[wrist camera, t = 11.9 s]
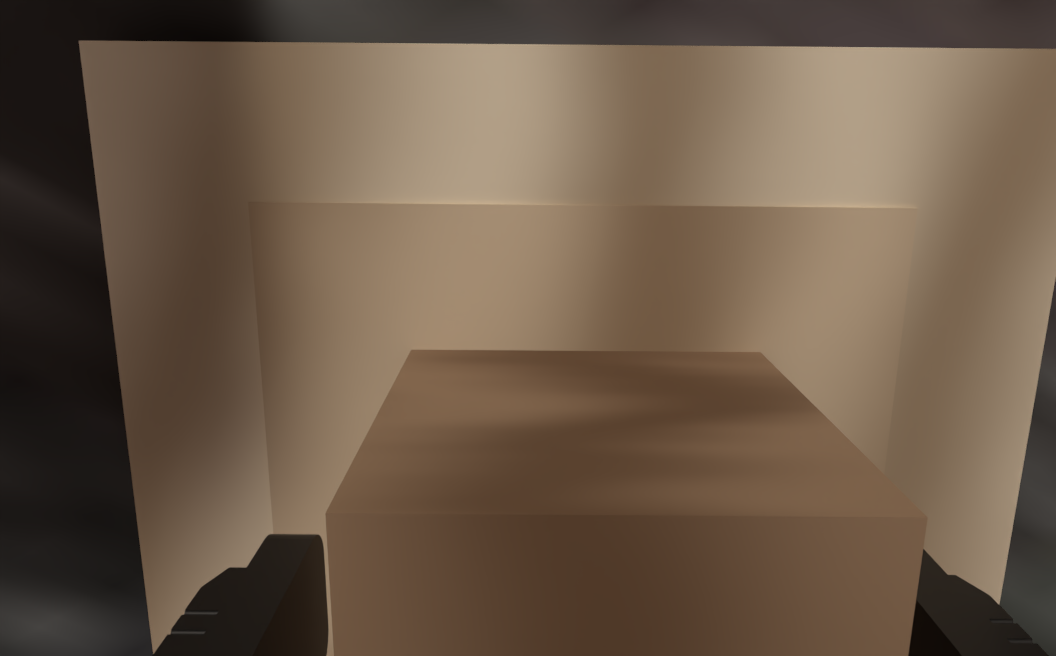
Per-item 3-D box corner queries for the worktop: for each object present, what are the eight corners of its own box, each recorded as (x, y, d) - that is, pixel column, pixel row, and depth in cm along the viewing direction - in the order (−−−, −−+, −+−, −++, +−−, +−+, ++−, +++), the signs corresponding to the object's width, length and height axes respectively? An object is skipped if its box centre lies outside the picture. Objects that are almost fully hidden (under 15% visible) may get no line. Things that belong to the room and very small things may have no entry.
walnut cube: (760, 352, 14) (927, 516, 8) (735, 655, 15) (862, 980, 10) (410, 349, 14) (325, 512, 8) (420, 653, 15) (353, 977, 10)
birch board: (1054, 54, 14) (1097, 49, 13) (930, 826, 18) (955, 870, 17) (110, 46, 14) (76, 40, 13) (198, 820, 18) (176, 863, 17)
